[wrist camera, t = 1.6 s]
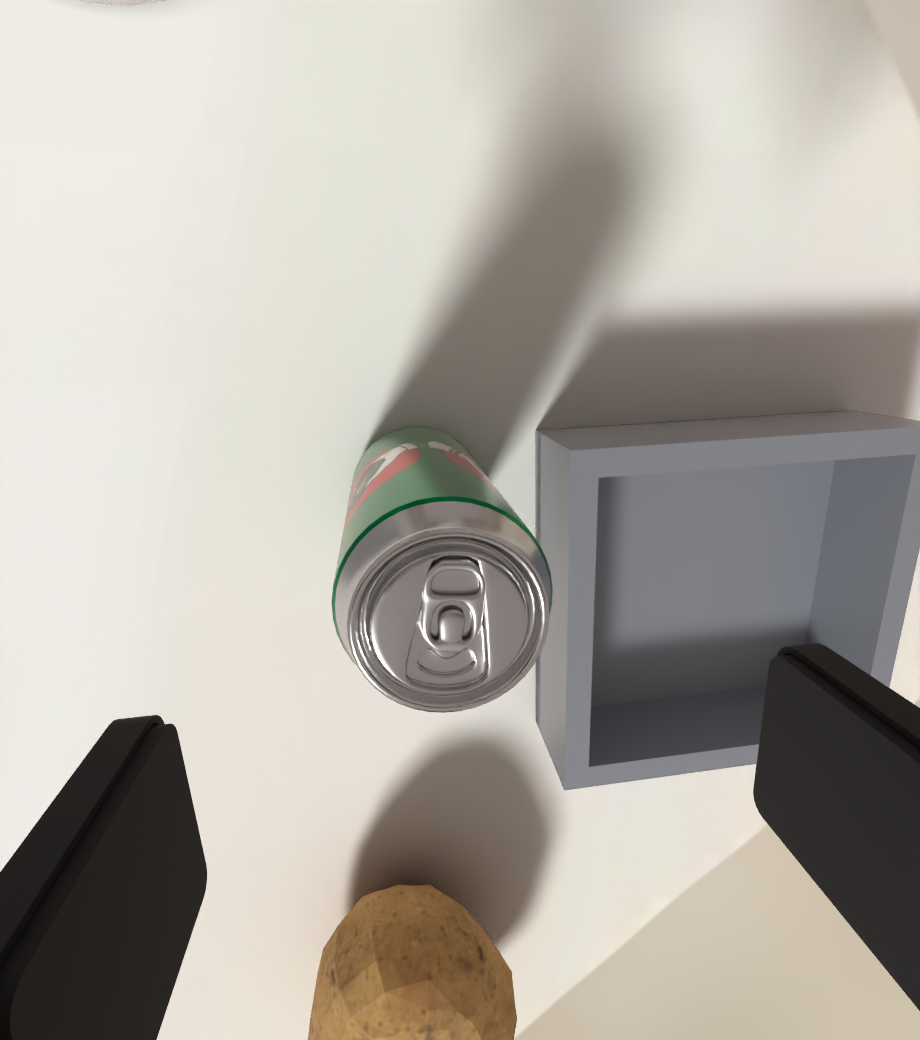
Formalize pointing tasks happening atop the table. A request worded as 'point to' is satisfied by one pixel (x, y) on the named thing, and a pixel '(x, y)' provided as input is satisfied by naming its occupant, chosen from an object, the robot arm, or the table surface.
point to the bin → (712, 577)
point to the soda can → (437, 577)
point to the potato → (412, 973)
